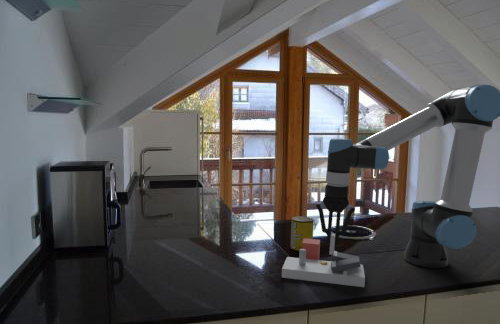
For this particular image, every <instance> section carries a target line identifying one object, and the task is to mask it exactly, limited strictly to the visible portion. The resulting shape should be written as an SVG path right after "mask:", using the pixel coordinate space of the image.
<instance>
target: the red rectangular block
mask: <svg viewBox="0 0 500 324" xmlns="http://www.w3.org/2000/svg"><path fill="white" fill-rule="evenodd" d="M320 248H321V239H315V238H313V239H306V238H304V239H303V242H302V249H305V250H306V259H313V260H320V254H321V253H320V252H321V251H320V250H321V249H320Z"/></svg>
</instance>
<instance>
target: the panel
mask: <svg viewBox="0 0 500 324" xmlns="http://www.w3.org/2000/svg"><path fill="white" fill-rule="evenodd" d="M298 252H299V255H298V257H291V256H287V257H286V259H285V261H284V262H283V263H284V264H283V265H282V268H281V278H284V279H292V280H298V281H299V280H301V281H308V282H317V283H326V284H335V285H342V286H351V287H359V288H365V286H366V285H365V283H366V282H365V281H366V275H365V269H364V265H363V264H361V263H360V266H361V267H357V268H351V269H346V270H341V271H336V272H332V270H331V262H332V261H333V260H330V261H329V260H321V259H319V260H313V259H306V250H305V249H300V251H298Z"/></svg>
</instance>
